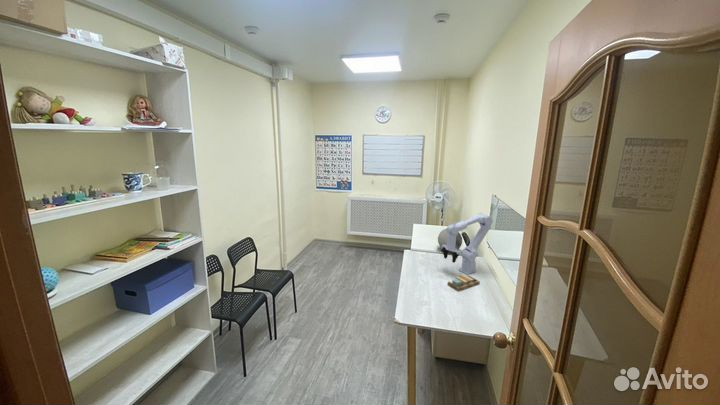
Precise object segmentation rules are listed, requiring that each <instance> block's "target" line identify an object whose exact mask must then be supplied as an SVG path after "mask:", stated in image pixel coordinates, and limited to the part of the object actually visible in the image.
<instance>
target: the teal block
mask: <svg viewBox="0 0 720 405" xmlns="http://www.w3.org/2000/svg"><path fill="white" fill-rule="evenodd" d="M451 283H452V284H454V285H456V286H458V287H460V286H461V283H462V281H460V280H458V279H456V278H455V279H452V282H451Z"/></svg>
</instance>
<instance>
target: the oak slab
mask: <svg viewBox="0 0 720 405" xmlns="http://www.w3.org/2000/svg"><path fill="white" fill-rule="evenodd" d="M468 276H469V275H467V274H461V275H458V276H455V279H458V280H460V281H462V282H463V283H464V284H469V283H472V282H473V281H474V279H475V278H474V279H472V278H473V277H472V278H470V277H471V276H470V277H468Z"/></svg>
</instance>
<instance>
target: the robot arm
mask: <svg viewBox="0 0 720 405" xmlns="http://www.w3.org/2000/svg"><path fill="white" fill-rule="evenodd" d="M493 222H494V221H493V217H492V216H490V215H488V214H485V213H483V212H479V213H477V214H475V215H474V216H472V217H471V218H468V219H467V220H465V221H464V220H459V221H458V222H456V223H453V224H449V225H448V226H447V227H446V228H445V229H446V230H447V232H448V233H447V234H448V236H447V245H442V248H443V249H442V248H441V252H442V254H443V258H444V259H448V255H449V252H448V251H449V250H450V251H452V252H451V257H452V260H451V261H452V263H456V261H457V259H458V258H459V256H460V255H461V257H462V262H461V268H459V269H458V271H459V272H462V273H463V274H464V275H471V274H473V273H476V272H477V270H476V264H477V262H476V259H477V255H478V252H477V251H478V248H479V247H480V245H481V243H482V241H483V240H484V239H485V237H486V235H487V234H488V233H489V231H490V230H491V225H492V224H493ZM476 223H478V224H479V225H480V228H479V229H478V231H477V232H476V234H475V236H474V237H473V239H472V240H471V242H470V244H469V245H468V246H465V247H464V248H463V249H462V250H461V251H460V250H459V249H458V250H457V249H456V248H455V244H456V234H458V232H459V233H460V231H464V230H466V229H467V228H468V226H470V225H471V226H472V225H474V224H476Z"/></svg>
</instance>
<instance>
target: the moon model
mask: <svg viewBox="0 0 720 405" xmlns="http://www.w3.org/2000/svg"><path fill="white" fill-rule="evenodd" d="M447 233H448V232H447V230H446V228H444V229H442V230H441V231H440V232H439V234H438V236H437V243H438V245H439V247H440V248H441V250H442V249H443V248H442V245H447V236H448V234H447ZM462 245H463V237H462V234H461V233H460V231H459V232H458V234H456V244H455V248H456V249H457V250H458V251H459V249H460V248H461V246H462ZM448 253H453V252H452V251H450V250H449V251H448Z"/></svg>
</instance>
